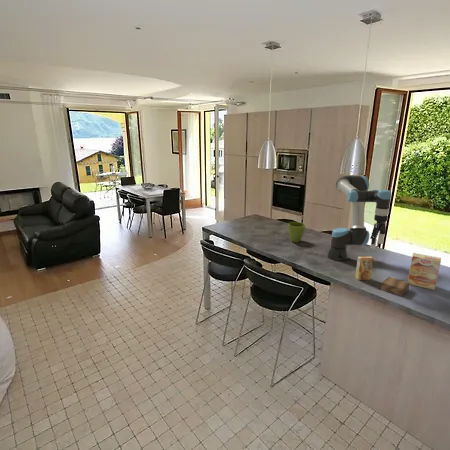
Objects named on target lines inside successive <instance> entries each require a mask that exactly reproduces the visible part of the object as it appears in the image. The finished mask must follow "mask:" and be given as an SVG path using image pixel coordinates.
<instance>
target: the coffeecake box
mask: <svg viewBox="0 0 450 450" xmlns="http://www.w3.org/2000/svg"><path fill="white" fill-rule="evenodd" d="M441 260H442V257H437V256H432V255H428V254H421V253H416V252H413V253H412V257H411V263H410V267H409V271H408V278H407V282H409V283H410V284H409V285H411V286H415V287H421V288H426V289H429V290H433V291H435V289H436V286H437V280H438V277H439V273H440V266H441V263H442V261H441Z"/></svg>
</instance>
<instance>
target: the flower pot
mask: <svg viewBox="0 0 450 450" xmlns="http://www.w3.org/2000/svg"><path fill="white" fill-rule="evenodd" d="M287 224H288V225H287V226H288V232H289V238H290V240H291V242H292V241H293V242H292V243H300V242H301V240H302V238H303V235H304V233H305V228H306V223H303V222H298V221H291V222H288V223H287ZM299 241H300V242H299Z"/></svg>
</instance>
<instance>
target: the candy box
mask: <svg viewBox="0 0 450 450" xmlns="http://www.w3.org/2000/svg"><path fill="white" fill-rule="evenodd" d="M373 265H374V258H373V256H371V255H370V256H357V261H356V269H355V275H354V278H355V279H356V280H357V281H363V280H364V281H365V280H366V281H367V280H371V279H372V271H373Z"/></svg>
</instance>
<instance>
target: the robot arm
mask: <svg viewBox="0 0 450 450" xmlns="http://www.w3.org/2000/svg"><path fill="white" fill-rule="evenodd" d="M335 187H336V189H337V191H339V192H342V193H343V194H345V195H346V199H347V201H348V202H350V203H351V226H350V227H349V228H347V227H337V228H334V229H332V233H331V239H330V240H331V241H330V248H329V250H328V252H327V258H328V259H329V260H333V261H338V262H344V261H348V260H349V255H348V251H347V250H348V249H347V248H348V247H347V246H353V247H354V246H356V247H361V246H366V245H367V244H368V243H369V240H370V239H371V242H370V249H373V250H376V247H377V242H378V244H380V245H384V239H385V235H386V234H387V227H386V226H387V225H386V223H387V221H388V219H389V218H388V217H389V216H388V215H389V213H390V206H391V205H390V204H391V199H392V190H388V189H379V190H378V189H373V190H369V189H370V188H369V187H370V181H369V178H368V177H367V176H365V175H344V176H341V177H339V178H338V179H337V180H336V182H335ZM365 203H375V211H374V213H375V214H374V216H373V217H374V218H373V219H374V221H376V222H375V223H374V224H373V228H372V232H371V234H370V232H369V230H368V229H367V227H366V226H365ZM370 235H371V236H370ZM377 238H378V239H377ZM377 240H378V241H377Z"/></svg>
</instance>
